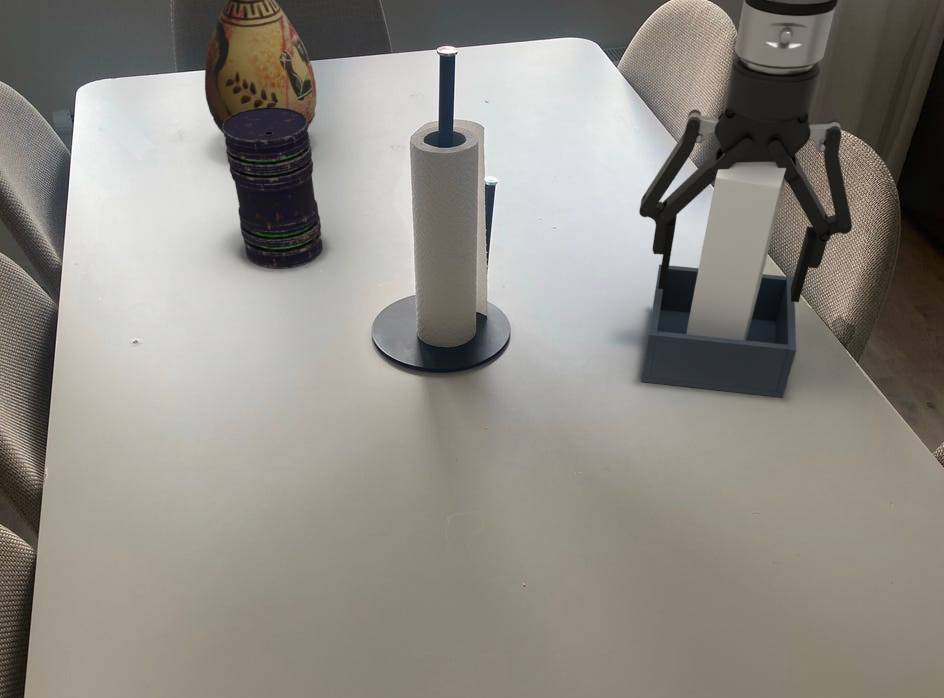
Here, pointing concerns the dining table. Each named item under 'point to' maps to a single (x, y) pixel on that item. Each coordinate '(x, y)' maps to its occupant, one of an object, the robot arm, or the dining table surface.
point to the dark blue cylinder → (274, 186)
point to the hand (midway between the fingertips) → (727, 289)
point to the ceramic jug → (257, 63)
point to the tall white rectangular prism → (735, 249)
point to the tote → (721, 340)
